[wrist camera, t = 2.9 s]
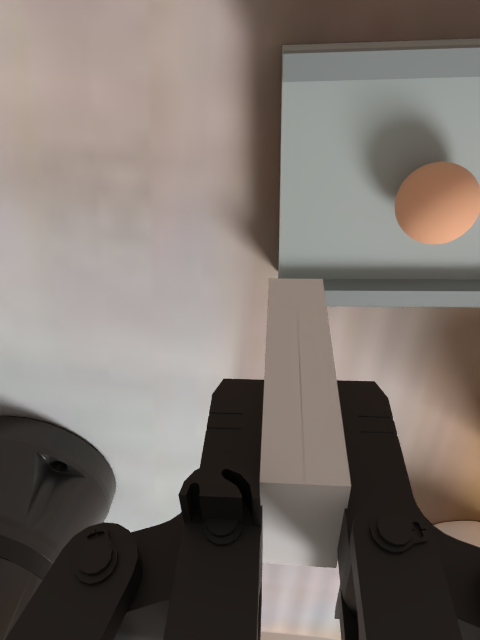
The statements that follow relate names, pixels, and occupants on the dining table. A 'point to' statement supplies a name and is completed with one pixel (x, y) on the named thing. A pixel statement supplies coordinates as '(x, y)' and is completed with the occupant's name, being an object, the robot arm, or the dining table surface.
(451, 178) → the ball
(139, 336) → the dining table surface
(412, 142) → the board
